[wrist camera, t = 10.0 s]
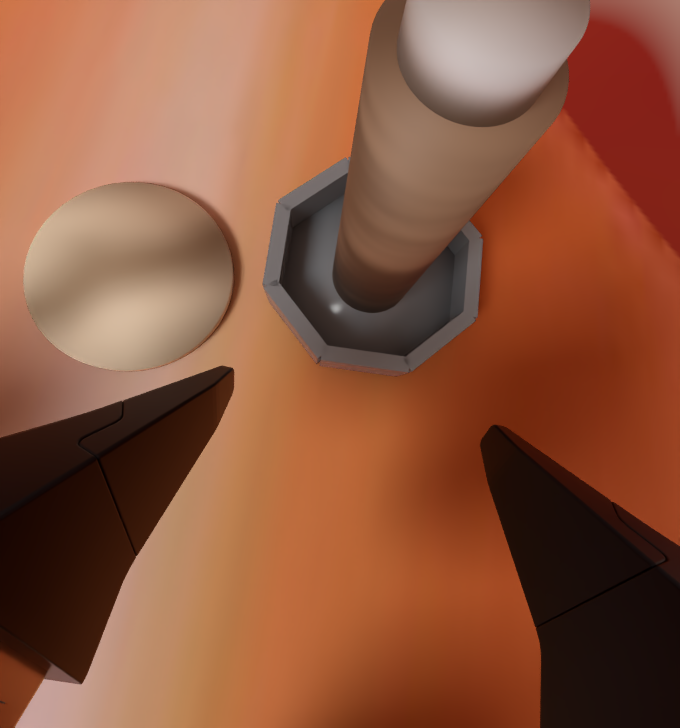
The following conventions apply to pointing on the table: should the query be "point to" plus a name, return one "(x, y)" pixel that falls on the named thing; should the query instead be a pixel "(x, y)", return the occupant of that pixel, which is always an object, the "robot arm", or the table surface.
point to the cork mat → (128, 277)
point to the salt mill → (443, 128)
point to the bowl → (345, 324)
